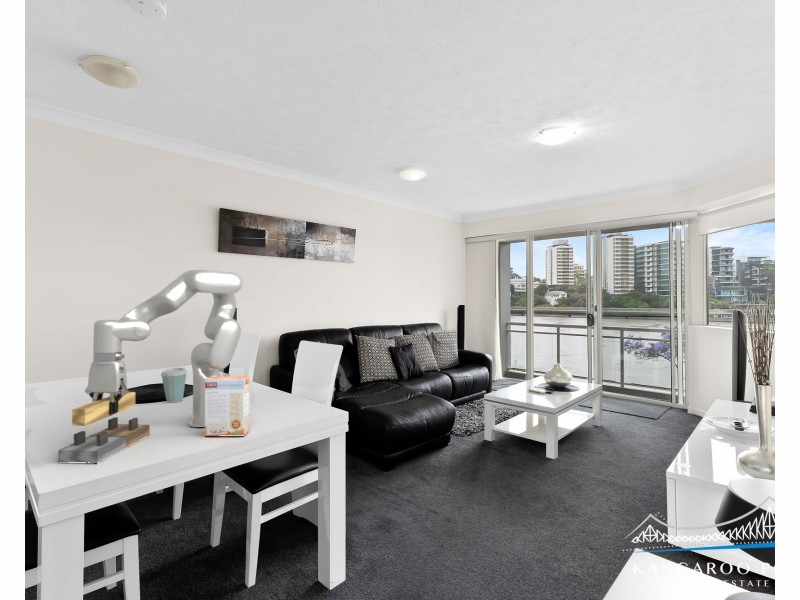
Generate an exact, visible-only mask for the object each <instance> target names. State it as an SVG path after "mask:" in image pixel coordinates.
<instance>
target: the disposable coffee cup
mask: <svg viewBox="0 0 800 600" xmlns="http://www.w3.org/2000/svg"><path fill="white" fill-rule="evenodd" d="M187 373H188V371H187V370H186V368H185V367H172V368H171V367H170V368H167V369H165V370H163V371H162V372H161V374H160V377H161V379H162V385H163V390H164V394H165V395H164V396H165V400H166V401H167V403H168V402H169V403H178V402H182V401H183V399H184V393H185V386H186V379H187Z"/></svg>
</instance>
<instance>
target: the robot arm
mask: <svg viewBox="0 0 800 600" xmlns="http://www.w3.org/2000/svg"><path fill="white" fill-rule="evenodd" d="M242 280H243V279H242V278H241V276H240V275H239V274H237V273H235V272H231V271H219V270H218V271H217V270H208V269H191V270H190V269H189V270H186V271H185V272H183V273H181V274H180V275H179V276H177V278H176V279H174V280H173V281H171V282H170V283H169V284H168V285H167V286H165V287H164V288H163V289H161V291H159V292H157V293H156V294H155V295H153V296H150V298H147V299H146V300H144V301H143V302H141V303H139V304H138V305H137V306H135V307H134V308H132V309H130V310H129V311H128V312H127V313H126V314H125V315H123V316H122V317H121V318H120V319H99V320H96V321H95V322H94V323H93V346H92V347H93V350H92V352H93V354H92V355H93V356H92V357H93V358H92V361H91V363H90V368H89V372H88V381H87V383H88V385H87V387H86V388H85V389H84V393H85V394H87V395H89V397H90V398H91V399H92V402H95V401H98V400H101V399H104V398H103V397H104V394H109V397H110V398H111V402H110V403H109V414H110V415H111V416H113V415H112V414H114V415H116V414H115V413H117V412H118V403H119V400H120V399H121V398H122V397H123V396H124V395H126V394H127V393H129V392H130V391H129V389H128V384H127V383H128V380H127V379H128V378H127V377H128V376H127V369H126V365H125V361H124V360H122V359H124V358H125V354H122V351H123V350H122V347H123V346H122V344H123V342H122V341H124V342H125V341H127V342H140V341H144V340H146V339H147V338H149V336H151V332H152V327H151V325H150V323H152V322H153V321H154V320H156V319H158V318H160V317H162V316H165V315H169V314H171V313H173V312H176V311H178V310H179V309H180V308H181V307H182V306H183V305H185V303H187V302H188V301H189V300H190V299H191V298H192V297H194V296H196V294H197V293H198V294H199V293H205V294H206V293H207V294H212V297H213V305H212V308H211V311H210V314H209V316H208V319H207V320H206V324H205V326H204V330H203V331H204V335H205V337H206V338H207V339H209V340H212V342H201V343H198V344H197V345H196V346H194V348H192V351H191V353H190V362H191V367H192V419H190V420H189V421H188V427H190V426H193V427H192V428H194V427H205V380H206V379H208V378H210V377H221V375H220V374H221V373H220V371H221V370H223V369H226V368H227V367H228V366H229V364H230V363H231V362H232V359H233V356H234V354H235V351H236V348H237V347H238V343H239V340H240V337H241V334H242V333H241V330H242V329H241V325H240V323H239V322H238V321H237V320H236V319H235V318H234V316H235V313H236V308H237V300H236V297H235V294H236V293H238V292H239V291H241V289H242V287H243V281H242ZM117 414H118V413H117Z"/></svg>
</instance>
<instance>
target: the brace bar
mask: <svg viewBox="0 0 800 600" xmlns="http://www.w3.org/2000/svg"><path fill="white" fill-rule="evenodd" d="M110 402H111V398H110V396H108V397H104V398H102V399H101V400H98V401H95V402H93V401H92V402H89V403H86V404H84V405H83V404H82V405H80V406H77V407H73V408H71V411H72V412H71V413H72V414H71V426H74V427H77V426H78V427H79V426H82V427H85V426H88V425H91V424H94V423H96V422H99V421H102V420H103V419H106V418H109V417H111V416H114V415H117V414H119V413H121V412H124V411H127V410H129V409H131V408H134V407H136V392H135V391H129V393H127V394H126V395H124V396H123V397H122V398H121V399H120V400H119V403H118V412H117V413H115V414H112V415H110V414H109V403H110Z"/></svg>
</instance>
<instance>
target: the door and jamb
mask: <svg viewBox="0 0 800 600" xmlns="http://www.w3.org/2000/svg"><path fill="white" fill-rule="evenodd" d="M150 426H151V425H150V424H141V423H140V424H139V417H133V418H130V419H129V420H128V423H119V418H118V416H117V417H112V418H109V419H108V420H107V428H104V429H102V430H99V431H97V432H95V433H93V434H89V436H87V437H86V430H81V431H78V432H76V433H74V434H73V443H71V444H69V445H67V446H64V447H62V448H59V449H58V451H57V455H58V457H57V460H58V461H57V463H58V462H86V463H88V462H90V463H98V462H99V461H101V460H103V459H105V458H107V457H109V456H111V455H113V454H115V453H117V452H119V451H120V450H122V449H124V448H126V447H128V446H129V445H131V444H133V443H135V442H137V441H139V440H140V439H142V438H144V437H146V436H148V435H149V436H150ZM149 436H148V437H149ZM146 438H147V437H146ZM144 439H145V438H144ZM139 442H140V441H139ZM137 443H138V442H137ZM135 444H136V443H135ZM128 448H129V447H128ZM126 449H127V448H126ZM124 450H125V449H124ZM119 453H120V452H119ZM117 454H118V453H117ZM115 455H116V454H115ZM113 456H114V455H113Z"/></svg>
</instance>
